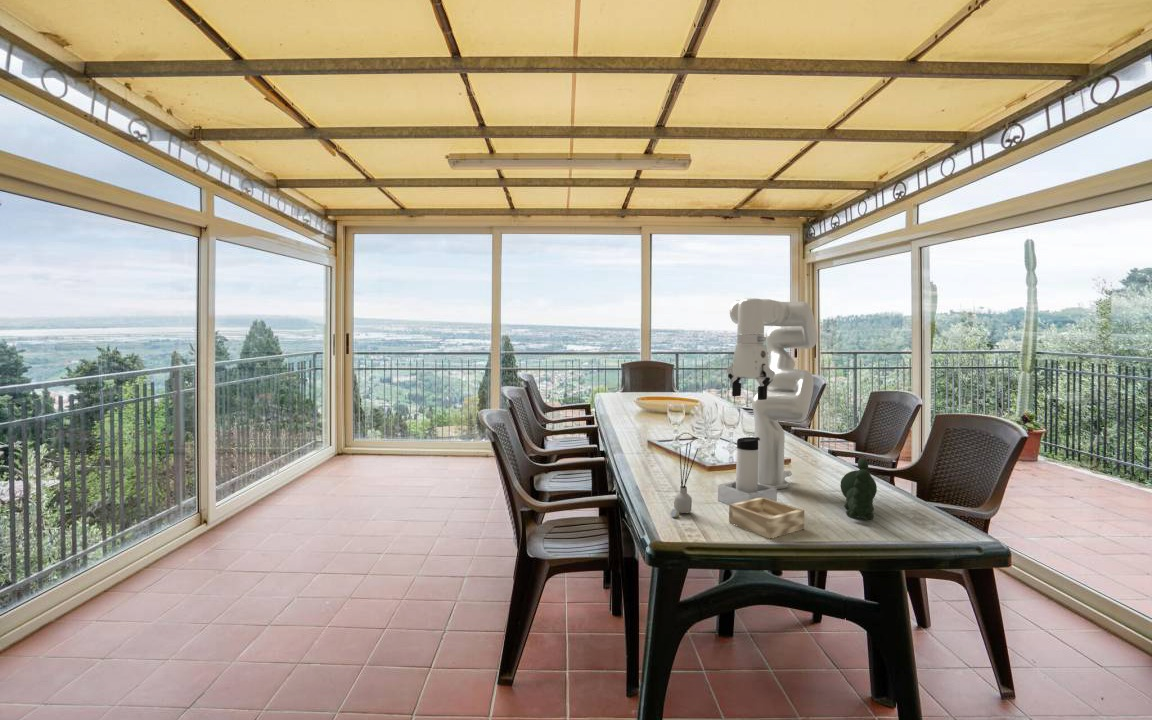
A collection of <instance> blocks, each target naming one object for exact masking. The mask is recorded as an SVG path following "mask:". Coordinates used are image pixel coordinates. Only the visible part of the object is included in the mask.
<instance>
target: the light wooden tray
mask: <svg viewBox="0 0 1152 720" xmlns="http://www.w3.org/2000/svg"><path fill="white" fill-rule="evenodd" d="M729 522H730V523H729ZM728 523H729V524H731V523H732V524H731V525H733V524H735V525H734V526H736V525H737V527H738V526H739V528H741V527H742V528H741V529H743V528H744V530H746V529H747V531H748V530H749V531H748V532H751V531H752V532H751V533H753V532H754V534H756V533H757V534H756V535H758V534H759V536H761V535H762V536H761V537H763V536H764V537H763V538H766V537H767V538H766V539H768V538H769V540H771V539H770V538H772V539H774V538H773V537H775V538H778V537H777V536H779V537H782V536H785V535H784V534H786V535H788V533H789V534H792V533H795V531H796V532H799V531H802V529H803V530H804V529H805V510H804V509H801V508H799V507H796V506H793V505H788V504H786V503H784V502H779V501H774V500H771V499H768V498H765V497H760V498H756V499H751V500H747V501H743V502H738V503H734V504H730V505H729V506H728ZM781 535H782V536H781Z"/></svg>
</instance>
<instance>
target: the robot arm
mask: <svg viewBox="0 0 1152 720" xmlns="http://www.w3.org/2000/svg"><path fill="white" fill-rule="evenodd" d="M729 317H730V319H731V321H732V323H734V324H735V325H737V337H736V339H737V340H736V344H735V346H734V347H735V348H734V353H733V358H732V359H733V361H732V362H733V363H732V364H731V365H730V366H728V367H727V368H726V369H725V370H726V372H727V376H728V378H729V380H730V383H731V385H732V387H731V390H732V391H731V396H732V397H741V395H742V382H741V381H742V379H748V380H756V381H757V383H758V387H757V393H755V395H754V396H753V398H752V412H753V417H754V437H755V438H756V437H759V438H760V441H759V440H758V483H760V484H763V485H767V486H770V487H773V488H777V490H781V489H787V488H788V487H789V481H788V480H786V478H787V477H790V476H792V475H793V474H792V471H791V470H789V469H788V470H785V442H786V441H785V438H786V437H785V436H786V435H785V431H784V429H783V427H782V426H781V425H780V423H779V421H780V422H781V421H783V422H791V423H792V422H793V423H802V422H804V421H805V420H806V418H807V416H808V414H809V410H810V406H811V402H812V401H811V400H812V396H813V391H814V385H815V384H814V383H815V382H814V377H813V374H812V372H811V371H809V370H806V369H798V368H795V367H796V362H795V360H794V358H793V357H792V355H790V353H789V352H788V351H786V349H798V350H799V349H800V350H804V349H806V350H808V349H809V350H810V349H812V348H814V347H815V346H816V344H817V342H818V331H817V326H816V322H815V316H814V312H813V309H812V308H811V305H810V304H809V303H807V302H806V301H778V300H775V299H774V300H773V299H767V298H742V299H736V300H734V301H733V302H732V304H731V305H730V307H729ZM765 327H769V328H767V330H766V334H765ZM764 342H765V343H764ZM764 344H766V345H764Z"/></svg>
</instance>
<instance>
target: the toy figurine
mask: <svg viewBox="0 0 1152 720" xmlns="http://www.w3.org/2000/svg"><path fill="white" fill-rule="evenodd" d="M857 468H858V469H859V470H851V471H849V472H847V473H846V474H844V476H842V478H841V481H840V490H841V492H842V495H843V497H845V501H846V502H845V503H844V509H845V510H846V512H845V514H846V516H847V517H848V518H849V517H850V519H854V520H855V519H857V517H858V518H865V521H866V520H867V521H873V519H874V517H875V516H874V513H873V512H874V510H875V508H874V498H875V497H876V494H877V491H878V486H877V483H876V481H875V479H874V478H873V477H872V475H871V473H870V472H869V470H868V468H869V462H868V460H867V458H865V457H860V458H858V460H857Z"/></svg>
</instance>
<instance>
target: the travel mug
mask: <svg viewBox="0 0 1152 720" xmlns="http://www.w3.org/2000/svg"><path fill="white" fill-rule="evenodd" d="M758 440H759V441H760V438H759V437H756V438H755V436H754V437H753V436H751V437H750V436H747V437H740V438H738V439H737V440H736V463H735V465H736V466H735V468H736V469H735V471H736V472H735V481H736V489H737V490H740V491H743V492H746V493H753V492H757V490H758Z"/></svg>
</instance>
